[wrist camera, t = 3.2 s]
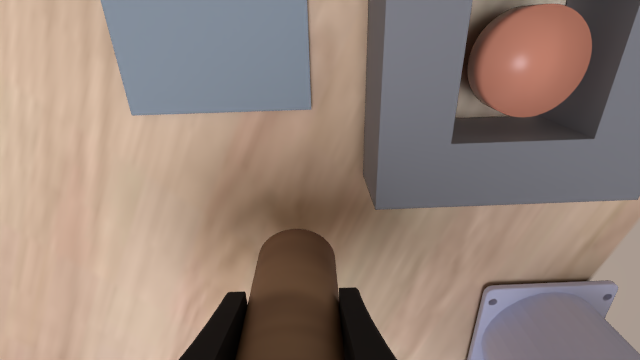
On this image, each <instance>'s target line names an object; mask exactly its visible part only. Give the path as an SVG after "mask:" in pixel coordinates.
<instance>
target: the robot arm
mask: <svg viewBox="0 0 640 360" xmlns="http://www.w3.org/2000/svg"><path fill="white" fill-rule="evenodd" d="M617 290H618V286H617V285H616V284H615V283H614V282H612V281H608V280H607V281H584V282H560V283H536V284H513V285H492V286H488V287H487V288H486V289H485V290H484V292H483V296H482V300H481V304H480V308H479V312H478V316H477V321H476V325H475V329H474V333H473V337H472V341H471V346H470V350H469V354H468V358H467V360H640V354H639V353H638V352H637V351H636V350H635V349H634V348H633V347H632V346H631V345H630V344H629V343H628V342H627V341H626V340H625V339H624V338H623V337H622V336H621V335H620V334H619V333H618V332H617V331H616V330H615V329H614V328H613V327H612V326H611V325H610V324H609V323H608V322H607V321H606V320H605V316H606V314H607V312H608V310H609V308H610V305H611V304H612V301H613V299H614V297H615V295H616V293H617ZM491 299H492V300H491ZM339 307H340V317H341V327H342V335H343V345H344V355H345V360H397V359H396V358H395V356H394V355H393V353H392V352H391V350H390V349H389V347H388V346H387V344H386V342H385V341H384V339H383V338H382V336H381V334H380V333H379V331H378V329H377V327H376V326H375V324H374V322H373V320H372V319H371V317H370V315H369V313H368V311H367V309H366V307H365V305H364V303H363V300H362V298H361V296H360V293H359V290H358V289H357V288H339ZM246 310H247V299H246V293H245V292H228V293H227V294H226V296H225V297H224V299H223V300H222V302H221V303H220V305H219V306H218V308H217V309H216V311H215V312H214V314H213V315H212V317H211V318H210V320H209V321H208V322H207V324H206V325H205V327H204V328H203V329H202V331H201V332H200V333H199V335H198V336H197V337H196V339H195V340H194V341H193V343H192V344H191V345H190V346H189V348H188V349H187V350H186V351H185V353H184V354H183V355H182V356H181V357H180V359H179V360H235V358H236V354H237V349H238V345H239V341H240V336H241V332H242V327H243V323H244V319H245V314H246Z"/></svg>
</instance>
